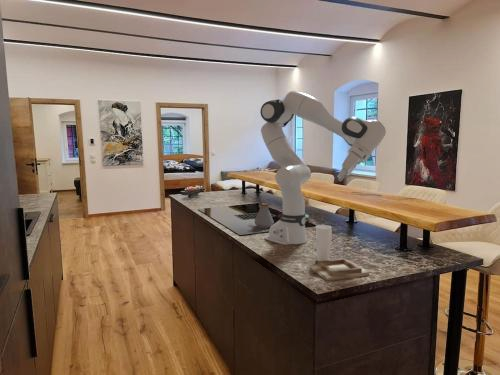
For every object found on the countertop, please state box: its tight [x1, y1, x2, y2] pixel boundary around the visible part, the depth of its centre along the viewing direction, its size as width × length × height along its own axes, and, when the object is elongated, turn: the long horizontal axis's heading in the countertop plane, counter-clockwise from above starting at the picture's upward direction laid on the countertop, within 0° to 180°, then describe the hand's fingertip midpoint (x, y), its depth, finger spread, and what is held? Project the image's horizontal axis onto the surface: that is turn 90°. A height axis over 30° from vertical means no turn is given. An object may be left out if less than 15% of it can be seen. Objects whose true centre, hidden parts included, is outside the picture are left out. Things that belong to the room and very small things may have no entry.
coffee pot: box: [254, 197, 275, 229], centre depth 219 cm, size 21×12×15 cm, turn 9°
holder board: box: [309, 257, 370, 282], centre depth 143 cm, size 14×18×3 cm
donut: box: [305, 213, 310, 223], centre depth 229 cm, size 12×12×4 cm
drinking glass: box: [314, 224, 333, 262], centre depth 154 cm, size 7×7×15 cm
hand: (338, 179), depth 161 cm, fingers open, 8 cm apart
